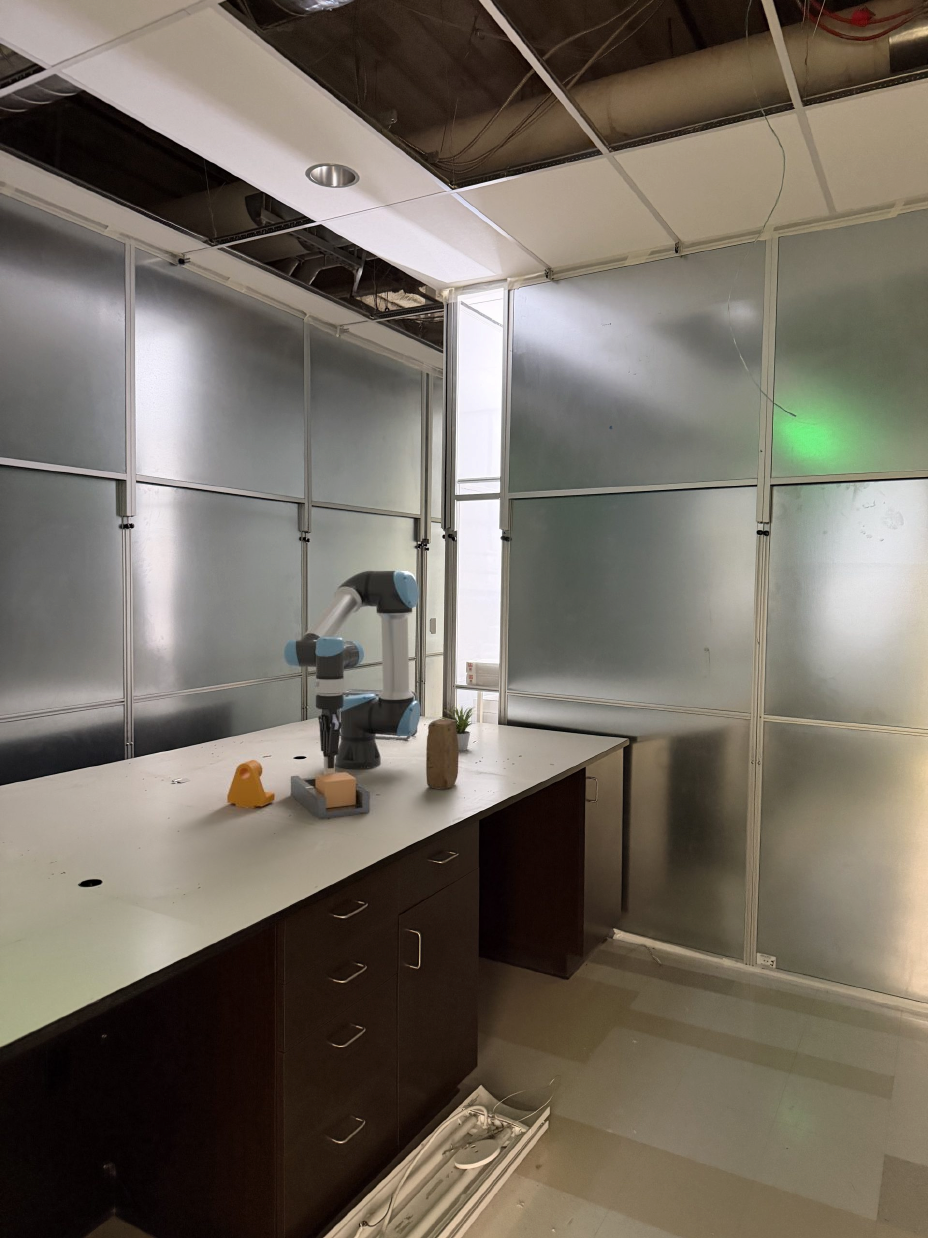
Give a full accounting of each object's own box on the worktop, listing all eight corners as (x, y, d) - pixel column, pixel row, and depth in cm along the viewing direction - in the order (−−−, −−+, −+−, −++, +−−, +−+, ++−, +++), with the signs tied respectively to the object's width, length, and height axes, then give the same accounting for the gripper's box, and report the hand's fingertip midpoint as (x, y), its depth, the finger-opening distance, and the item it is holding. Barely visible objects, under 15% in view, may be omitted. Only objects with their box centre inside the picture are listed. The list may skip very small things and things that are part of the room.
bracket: (276, 802, 227) (275, 759, 227) (262, 809, 220) (262, 765, 220) (242, 799, 231) (242, 756, 230) (227, 805, 224) (227, 762, 223)
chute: (290, 795, 235) (290, 775, 234) (337, 789, 241) (337, 770, 241) (318, 819, 212) (318, 797, 211) (369, 812, 218) (369, 791, 218)
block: (446, 791, 241) (447, 723, 240) (423, 788, 244) (424, 721, 243) (461, 783, 250) (462, 718, 249) (439, 780, 253) (439, 716, 252)
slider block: (315, 800, 223) (315, 775, 222) (345, 797, 227) (345, 772, 226) (324, 808, 216) (324, 782, 215) (355, 804, 220) (355, 778, 219)
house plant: (457, 743, 311) (457, 700, 311) (487, 747, 303) (488, 703, 303) (434, 749, 300) (434, 704, 299) (464, 754, 292) (465, 708, 291)
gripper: (309, 691, 228) (309, 775, 229) (323, 697, 216) (323, 786, 218) (335, 690, 231) (334, 772, 233) (350, 696, 220) (350, 783, 221)
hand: (329, 779), depth 225 cm, fingers closed
